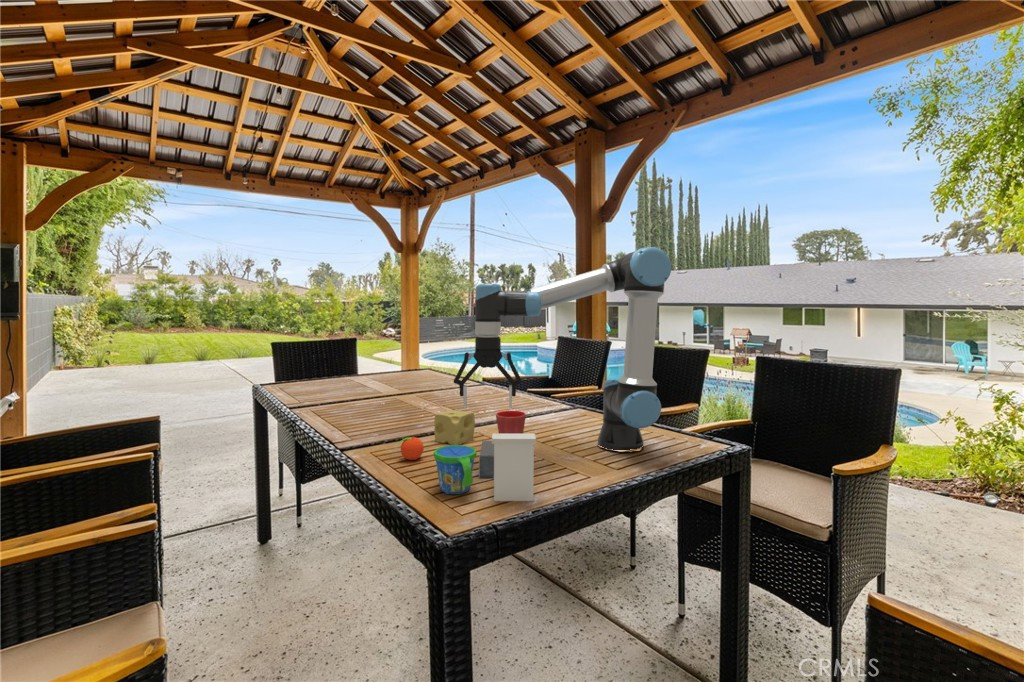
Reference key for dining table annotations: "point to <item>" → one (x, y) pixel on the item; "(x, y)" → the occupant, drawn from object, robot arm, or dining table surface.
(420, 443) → the clementine
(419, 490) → the dining table surface
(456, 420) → the cheese
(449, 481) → the snack cup
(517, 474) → the tall white pillar
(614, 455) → the dining table surface
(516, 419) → the flower pot
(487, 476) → the rail
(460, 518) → the dining table surface
